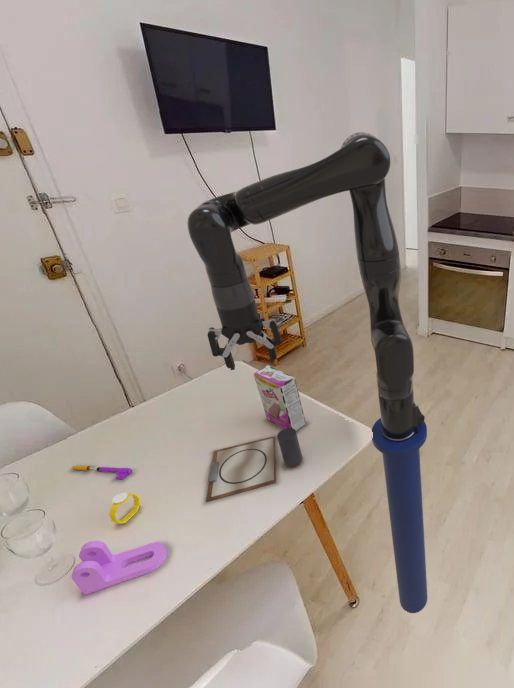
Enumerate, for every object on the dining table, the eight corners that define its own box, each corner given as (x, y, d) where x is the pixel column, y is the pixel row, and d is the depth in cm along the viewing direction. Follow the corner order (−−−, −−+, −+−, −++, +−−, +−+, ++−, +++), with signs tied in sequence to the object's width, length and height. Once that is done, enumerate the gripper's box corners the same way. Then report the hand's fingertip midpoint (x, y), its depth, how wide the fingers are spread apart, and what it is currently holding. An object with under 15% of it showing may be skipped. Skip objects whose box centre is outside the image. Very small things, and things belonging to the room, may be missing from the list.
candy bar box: (266, 420, 115) (252, 373, 107) (280, 410, 119) (267, 364, 111) (293, 435, 110) (280, 386, 102) (307, 424, 113) (295, 376, 105)
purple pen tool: (133, 470, 100) (75, 466, 102) (131, 467, 99) (72, 463, 101) (126, 480, 98) (67, 476, 100) (124, 478, 97) (64, 474, 99)
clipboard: (275, 437, 109) (274, 433, 109) (276, 482, 96) (275, 479, 96) (214, 452, 105) (212, 448, 104) (206, 502, 92) (205, 498, 91)
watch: (124, 529, 86) (112, 511, 83) (113, 527, 87) (101, 509, 84) (146, 505, 92) (136, 487, 89) (136, 503, 92) (125, 485, 89)
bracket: (84, 595, 75) (67, 573, 72) (93, 567, 79) (77, 545, 76) (164, 567, 79) (151, 545, 76) (169, 542, 84) (156, 520, 80)
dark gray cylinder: (302, 453, 104) (295, 425, 99) (303, 466, 100) (296, 438, 96) (284, 458, 103) (276, 430, 98) (285, 471, 99) (277, 443, 94)
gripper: (194, 314, 80) (217, 380, 88) (270, 302, 84) (286, 366, 92) (199, 299, 86) (221, 362, 94) (270, 288, 90) (285, 350, 98)
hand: (253, 364), depth 93 cm, fingers open, 8 cm apart
